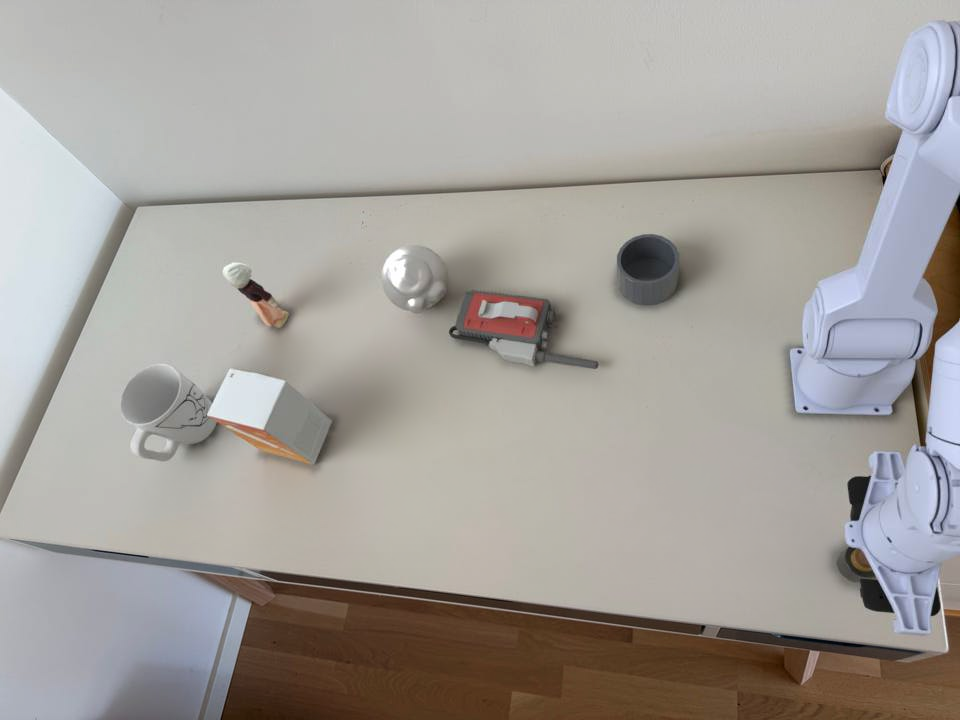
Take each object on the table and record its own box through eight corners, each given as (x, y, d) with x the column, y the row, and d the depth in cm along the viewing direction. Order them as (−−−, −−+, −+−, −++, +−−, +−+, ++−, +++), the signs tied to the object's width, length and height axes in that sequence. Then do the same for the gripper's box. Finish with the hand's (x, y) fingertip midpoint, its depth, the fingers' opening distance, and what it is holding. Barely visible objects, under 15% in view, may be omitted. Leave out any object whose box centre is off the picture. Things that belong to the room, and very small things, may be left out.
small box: (262, 452, 85) (204, 415, 74) (282, 408, 87) (228, 366, 76) (315, 466, 82) (263, 430, 71) (334, 421, 85) (286, 378, 73)
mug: (195, 480, 85) (144, 456, 76) (147, 463, 88) (93, 437, 79) (236, 402, 89) (193, 371, 81) (189, 388, 92) (142, 356, 84)
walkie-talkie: (446, 353, 86) (597, 378, 79) (437, 337, 82) (595, 362, 76) (465, 297, 89) (611, 316, 83) (457, 279, 85) (610, 298, 79)
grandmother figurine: (250, 323, 95) (199, 274, 84) (263, 301, 97) (215, 250, 86) (293, 335, 93) (246, 286, 82) (305, 312, 94) (261, 261, 83)
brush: (870, 550, 65) (905, 527, 56) (875, 583, 63) (912, 565, 55) (834, 547, 65) (864, 524, 57) (838, 580, 64) (869, 562, 55)
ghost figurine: (387, 326, 90) (360, 287, 81) (401, 269, 94) (376, 226, 85) (449, 328, 87) (428, 288, 79) (461, 269, 91) (442, 225, 83)
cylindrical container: (676, 256, 85) (678, 232, 80) (677, 305, 81) (679, 283, 77) (618, 258, 86) (617, 235, 82) (617, 306, 83) (616, 284, 79)
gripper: (850, 431, 53) (812, 479, 65) (876, 621, 47) (829, 636, 58) (949, 434, 51) (892, 483, 63) (990, 632, 45) (918, 645, 57)
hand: (867, 557), depth 61 cm, fingers open, 6 cm apart
